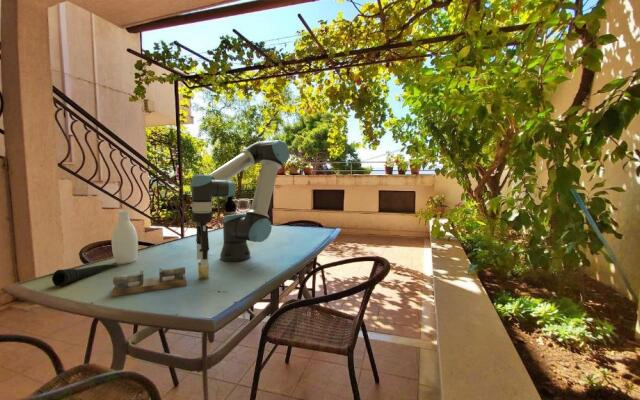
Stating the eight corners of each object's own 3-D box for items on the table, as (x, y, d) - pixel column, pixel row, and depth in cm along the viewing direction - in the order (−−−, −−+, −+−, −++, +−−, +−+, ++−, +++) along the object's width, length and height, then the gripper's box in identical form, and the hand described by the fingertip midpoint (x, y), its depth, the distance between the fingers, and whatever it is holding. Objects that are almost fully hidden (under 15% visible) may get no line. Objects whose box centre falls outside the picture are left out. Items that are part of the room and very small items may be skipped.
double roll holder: (184, 278, 125) (184, 264, 125) (186, 285, 117) (186, 270, 117) (115, 288, 114) (115, 272, 113) (112, 296, 106) (111, 279, 105)
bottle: (133, 257, 157) (131, 209, 155) (142, 260, 151) (140, 210, 149) (108, 262, 148) (106, 211, 146) (117, 266, 142) (115, 212, 140)
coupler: (208, 276, 128) (207, 260, 128) (209, 279, 125) (209, 263, 124) (198, 277, 126) (197, 261, 126) (199, 280, 123) (198, 264, 122)
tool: (64, 288, 114) (63, 271, 113) (51, 286, 115) (50, 270, 115) (125, 267, 141) (125, 253, 140) (114, 266, 142) (113, 252, 142)
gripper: (189, 209, 132) (189, 256, 134) (195, 215, 111) (195, 272, 112) (207, 209, 136) (207, 255, 137) (216, 214, 114) (216, 269, 115)
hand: (202, 262), depth 125 cm, fingers open, 13 cm apart
